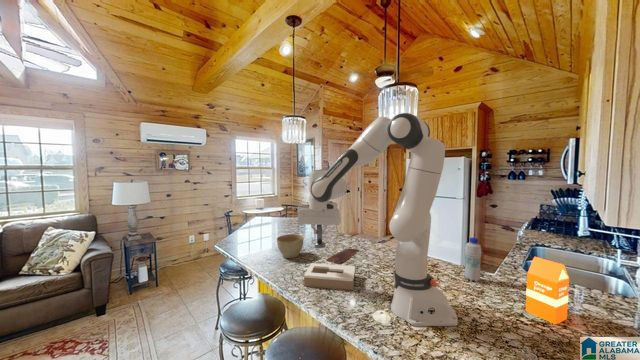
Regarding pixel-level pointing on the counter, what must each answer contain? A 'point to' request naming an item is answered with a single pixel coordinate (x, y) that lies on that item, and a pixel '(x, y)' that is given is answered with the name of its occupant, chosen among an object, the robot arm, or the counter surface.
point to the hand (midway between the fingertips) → (319, 233)
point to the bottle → (472, 260)
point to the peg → (319, 238)
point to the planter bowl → (290, 245)
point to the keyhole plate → (330, 276)
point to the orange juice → (547, 290)
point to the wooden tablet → (342, 256)
